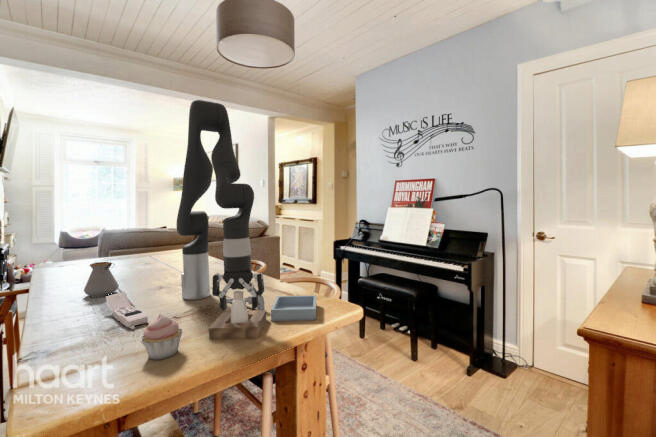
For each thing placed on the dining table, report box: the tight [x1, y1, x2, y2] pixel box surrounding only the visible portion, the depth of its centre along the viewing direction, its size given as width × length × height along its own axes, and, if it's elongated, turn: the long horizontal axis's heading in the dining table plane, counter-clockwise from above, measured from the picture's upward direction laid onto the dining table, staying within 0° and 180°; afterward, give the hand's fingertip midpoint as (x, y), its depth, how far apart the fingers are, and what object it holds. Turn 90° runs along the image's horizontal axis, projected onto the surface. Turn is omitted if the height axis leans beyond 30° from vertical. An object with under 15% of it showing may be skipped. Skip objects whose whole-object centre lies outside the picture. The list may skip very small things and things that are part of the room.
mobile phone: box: [105, 291, 149, 331], centre depth 100 cm, size 6×6×25 cm
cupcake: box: [140, 313, 184, 361], centre depth 76 cm, size 9×9×10 cm
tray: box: [270, 294, 317, 322], centre depth 103 cm, size 14×14×4 cm
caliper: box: [226, 294, 266, 310], centre depth 110 cm, size 20×1×6 cm, turn 55°
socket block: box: [208, 309, 267, 340], centre depth 91 cm, size 13×13×3 cm
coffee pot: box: [83, 261, 120, 298], centre depth 123 cm, size 21×12×15 cm, turn 48°
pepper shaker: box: [230, 289, 249, 323], centre depth 90 cm, size 5×5×11 cm
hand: (239, 309), depth 90 cm, fingers open, 8 cm apart
